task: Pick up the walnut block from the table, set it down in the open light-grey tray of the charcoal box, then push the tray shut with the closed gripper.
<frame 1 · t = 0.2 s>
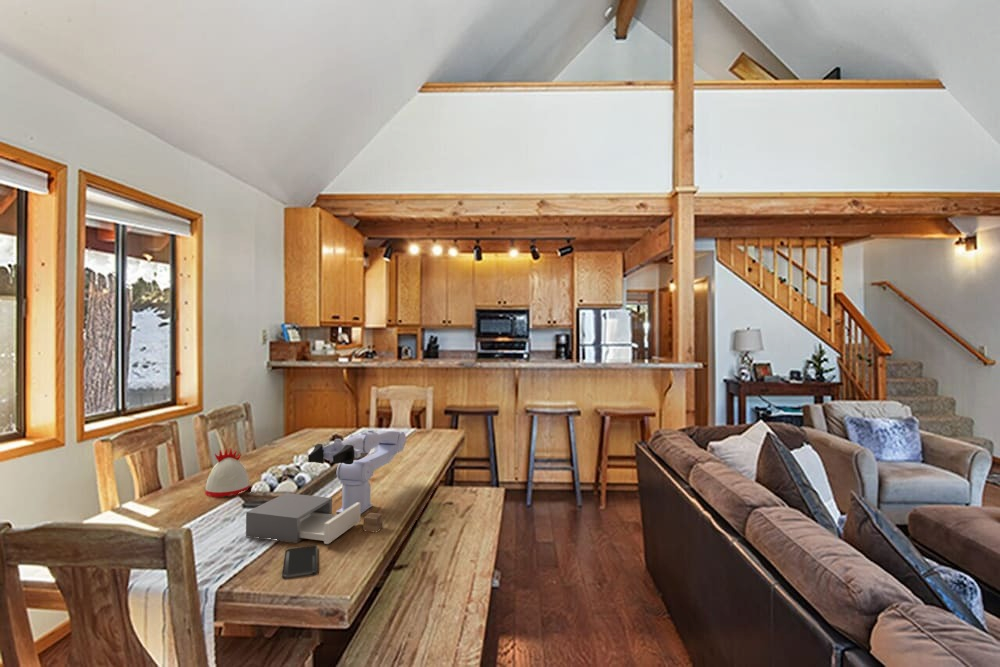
hand: (321, 459, 143), 21 cm above the table, tool horizontal, fingers open, 7 cm apart
tray: (320, 519, 145), point 4 cm above the table, slide at 8.0 cm
walnut block: (373, 529, 147), on the table
phone: (301, 564, 126), on the table
box housing: (290, 528, 147), on the table
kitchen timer: (227, 491, 179), on the table
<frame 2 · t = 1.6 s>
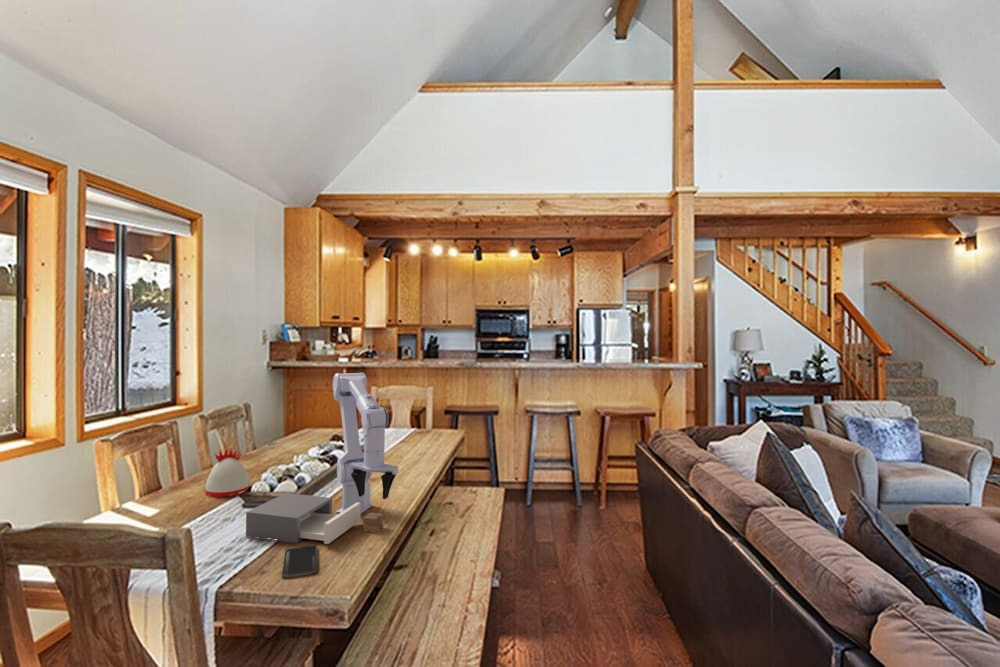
hand: (373, 496, 147), 9 cm above the table, tool pointing down, fingers open, 7 cm apart
nothing on the table moved.
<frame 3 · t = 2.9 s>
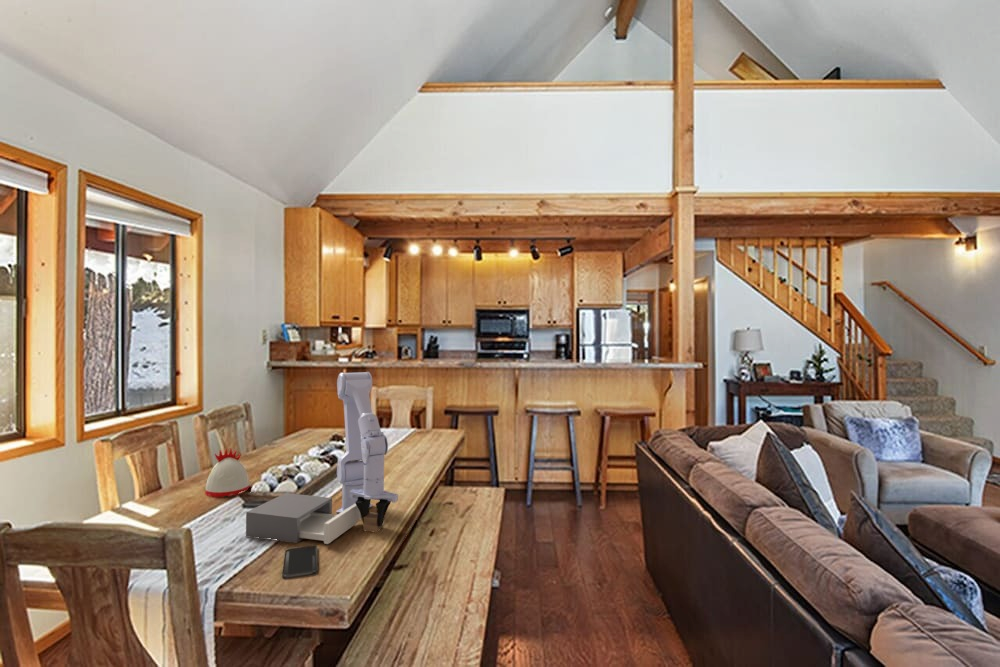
hand: (373, 524, 147), 1 cm above the table, tool pointing down, fingers closed on walnut block, 4 cm apart
walnut block: (373, 529, 147), on the table, touching gripper
everything else where it was.
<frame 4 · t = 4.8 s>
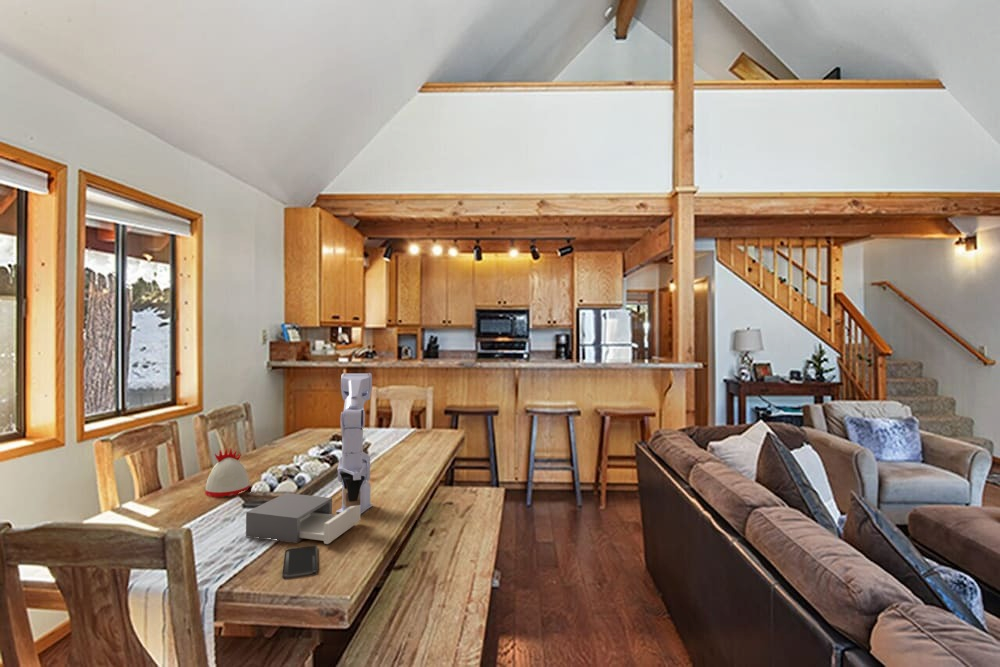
hand: (351, 498, 145), 9 cm above the table, tool pointing down, fingers closed on walnut block, 4 cm apart
walnut block: (351, 503, 145), point 8 cm above the table, touching gripper
everything else where it was.
when the fingers open (4 cm above the table, at t = 6.6 s): walnut block drops 1 cm, resting on tray.
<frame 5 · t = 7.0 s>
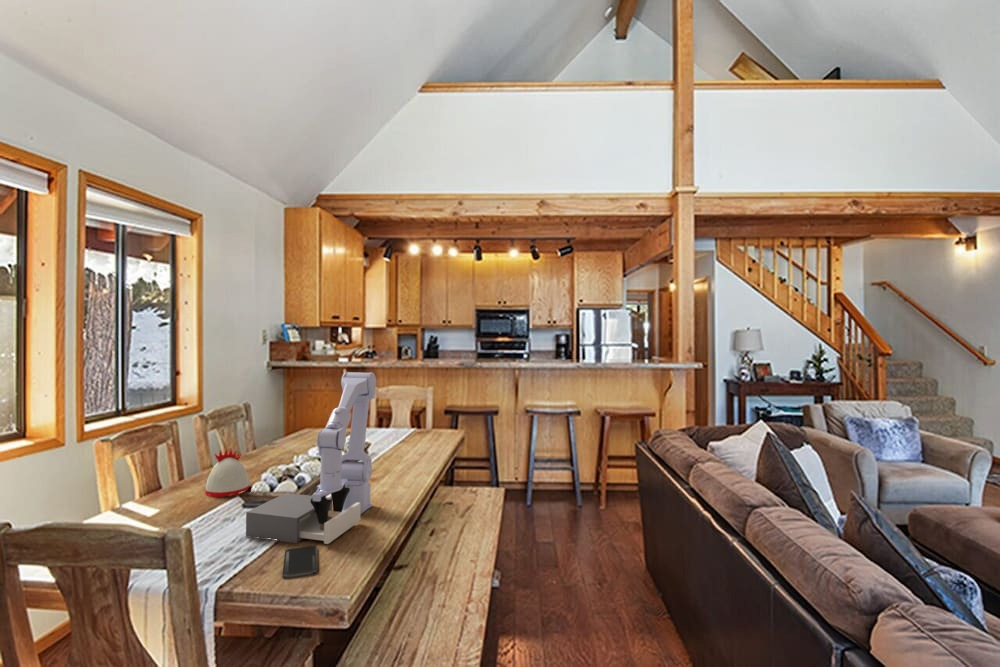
hand: (330, 518, 144), 4 cm above the table, tool pointing down, fingers open, 7 cm apart
tray: (320, 519, 145), point 4 cm above the table, slide at 8.0 cm, touching walnut block
walnut block: (330, 527, 144), point 1 cm above the table, touching tray
everything else where it was.
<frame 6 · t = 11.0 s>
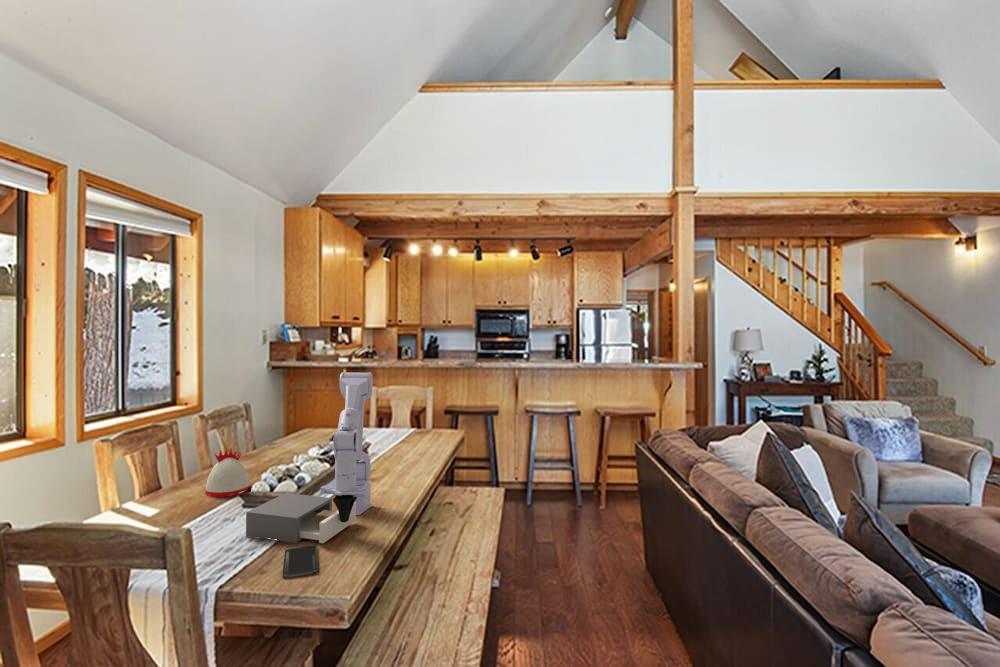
hand: (344, 521, 143), 4 cm above the table, tool pointing down, fingers closed
tray: (315, 518, 145), point 4 cm above the table, slide at 6.5 cm, touching gripper, walnut block
walnut block: (326, 527, 144), point 1 cm above the table, touching tray
everything else where it was.
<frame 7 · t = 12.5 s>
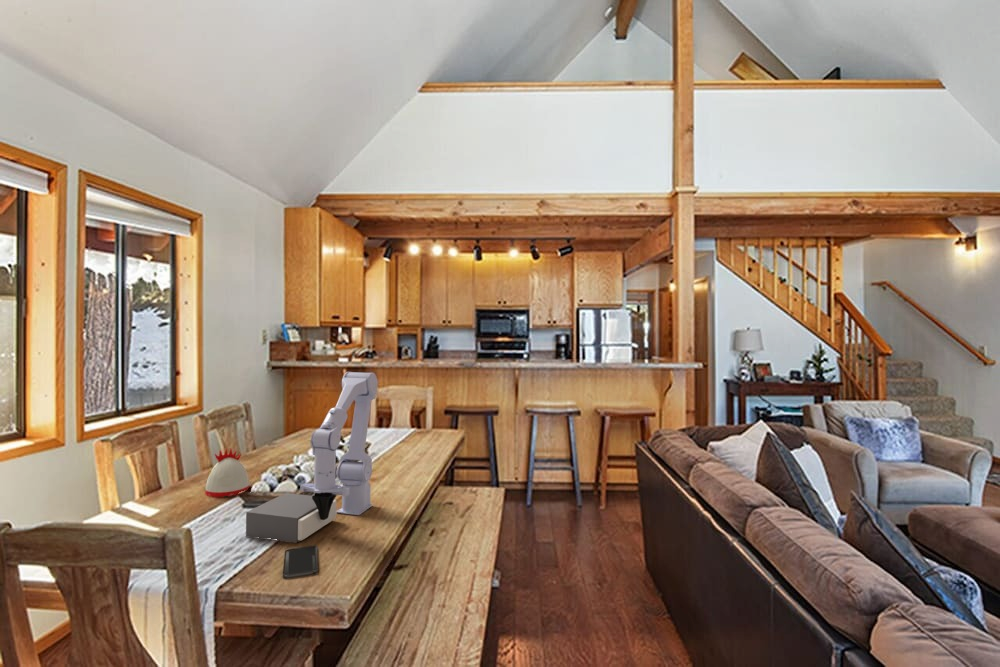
hand: (324, 518, 144), 4 cm above the table, tool pointing down, fingers closed
tray: (295, 516, 146), point 4 cm above the table, slide at 0.0 cm, touching gripper, walnut block
walnut block: (305, 524, 146), point 1 cm above the table, touching tray
everything else where it was.
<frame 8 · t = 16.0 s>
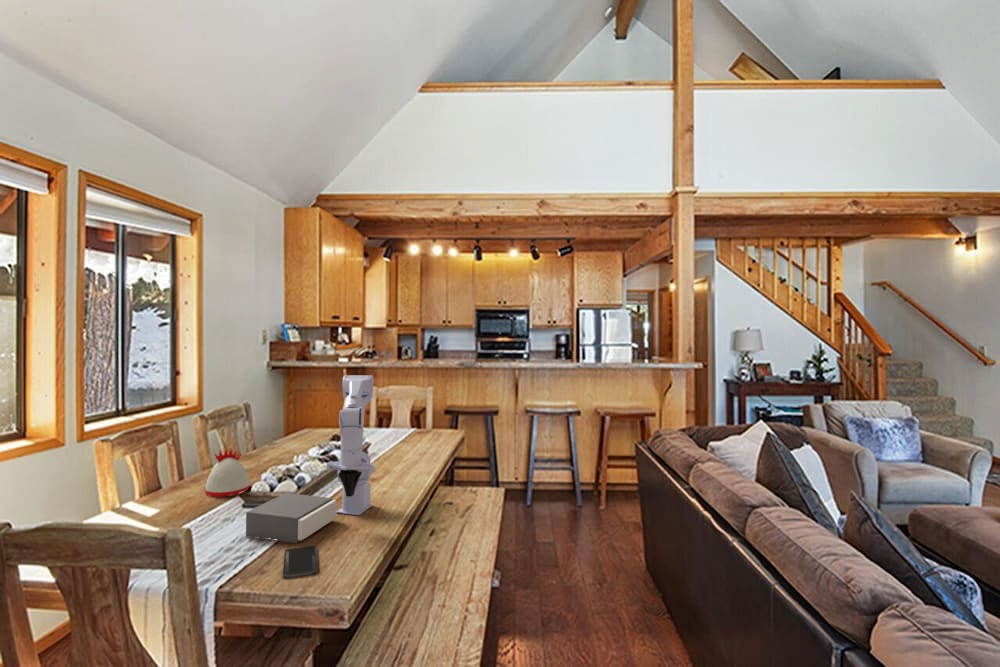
hand: (350, 495, 148), 9 cm above the table, tool pointing down, fingers closed
tray: (295, 516, 146), point 4 cm above the table, slide at 0.0 cm, touching walnut block
everything else where it was.
at the end: tray slide at 0.0 cm; walnut block inside the target area on the box housing (5.3 cm from its centre), point 1.5 cm above the box housing's base; walnut block tilted 0° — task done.
